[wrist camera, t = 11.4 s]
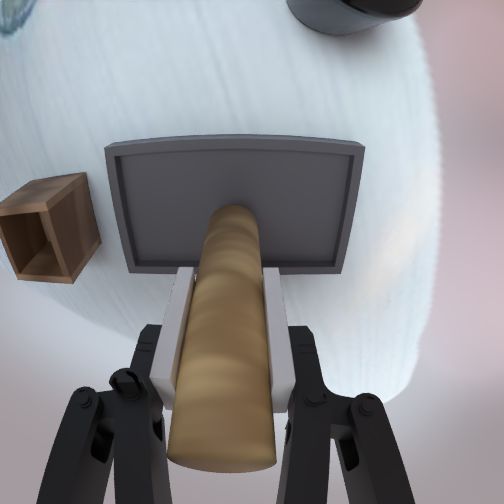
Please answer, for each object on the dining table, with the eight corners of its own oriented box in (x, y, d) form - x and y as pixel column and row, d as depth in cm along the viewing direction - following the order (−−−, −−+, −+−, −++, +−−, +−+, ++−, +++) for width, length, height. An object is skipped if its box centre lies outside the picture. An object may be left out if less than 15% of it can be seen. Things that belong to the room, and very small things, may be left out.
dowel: (209, 248, 22) (178, 469, 8) (207, 204, 20) (153, 443, 6) (257, 248, 22) (272, 472, 8) (258, 204, 20) (282, 449, 6)
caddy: (48, 243, 25) (17, 279, 20) (30, 180, 21) (-9, 209, 16) (101, 242, 25) (73, 284, 20) (85, 171, 21) (45, 202, 16)
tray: (134, 262, 27) (129, 273, 25) (113, 142, 20) (104, 147, 19) (336, 262, 27) (340, 273, 26) (356, 141, 21) (365, 146, 19)
